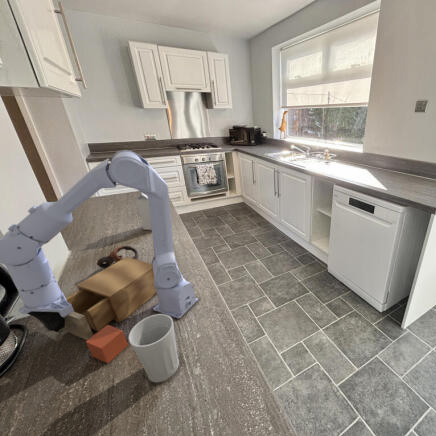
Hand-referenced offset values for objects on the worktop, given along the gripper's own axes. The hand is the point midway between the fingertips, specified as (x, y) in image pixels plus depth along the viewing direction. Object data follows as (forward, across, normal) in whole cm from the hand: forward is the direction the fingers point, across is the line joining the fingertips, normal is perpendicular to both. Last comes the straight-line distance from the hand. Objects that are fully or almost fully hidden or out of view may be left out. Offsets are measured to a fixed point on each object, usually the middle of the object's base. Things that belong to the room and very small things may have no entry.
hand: (58, 329), depth 57 cm
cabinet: (+4, 0, +16) cm, 17 cm away
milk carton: (+3, -32, +56) cm, 65 cm away
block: (+4, +12, +2) cm, 13 cm away
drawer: (+4, 0, +7) cm, 8 cm away
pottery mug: (+5, -17, +27) cm, 32 cm away
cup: (+4, +27, +3) cm, 28 cm away
